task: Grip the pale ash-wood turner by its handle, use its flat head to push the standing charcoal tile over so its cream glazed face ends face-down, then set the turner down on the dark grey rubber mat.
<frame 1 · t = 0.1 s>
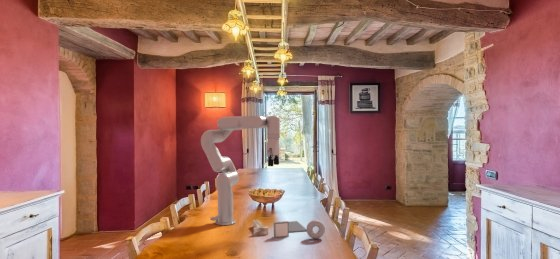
hand: (273, 165, 200), 37 cm above the table, tool pointing down, fingers open, 9 cm apart
mat: (292, 227, 201), on the table
tile: (281, 236, 183), on the table
donut: (315, 239, 179), on the table
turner: (257, 229, 196), on the table
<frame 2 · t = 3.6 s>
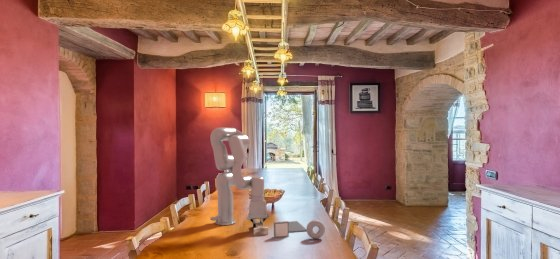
hand: (257, 229, 196), 0 cm above the table, tool pointing down, fingers closed on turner, 2 cm apart
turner: (257, 229, 196), on the table, touching gripper
everything else where it was.
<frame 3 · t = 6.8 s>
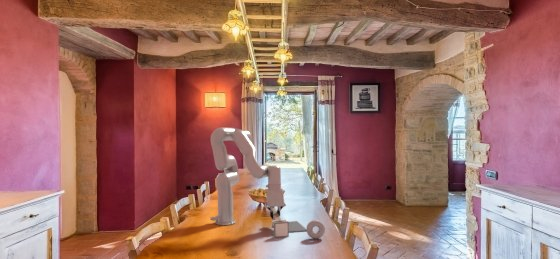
hand: (275, 217, 198), 7 cm above the table, tool pointing down, fingers closed on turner, 3 cm apart
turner: (274, 219, 199), point 5 cm above the table, tilted 12°, touching gripper
everything else where it was.
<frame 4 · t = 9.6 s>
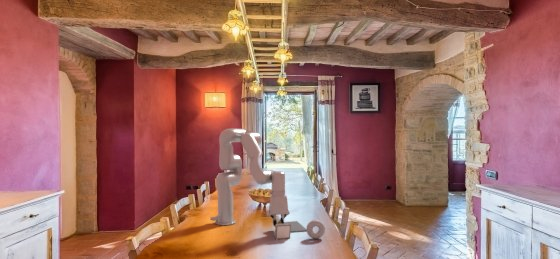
hand: (278, 225, 189), 4 cm above the table, tool pointing down, fingers closed on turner, 3 cm apart
tile: (282, 238, 180), on the table, tilted 12°, touching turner
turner: (277, 227, 190), point 3 cm above the table, tilted 12°, touching gripper, tile
everything else where it was.
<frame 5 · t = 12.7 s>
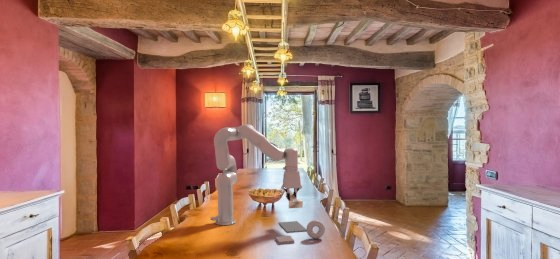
hand: (291, 199, 202), 16 cm above the table, tool pointing down, fingers closed on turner, 3 cm apart
tile: (282, 237, 179), on the table, tilted 90°
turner: (291, 200, 204), point 15 cm above the table, tilted 12°, touching gripper
everything else where it was.
when the fingers open (2 cm above the table, at t = 15.5 s): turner stays where it is, resting on mat.
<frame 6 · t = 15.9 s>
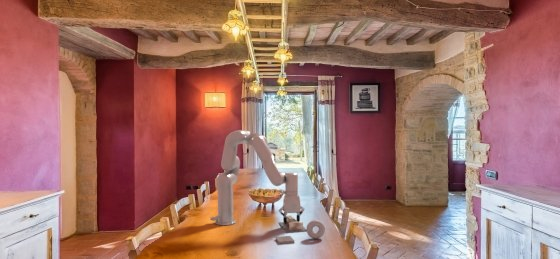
hand: (291, 222, 202), 2 cm above the table, tool pointing down, fingers open, 7 cm apart
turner: (291, 224, 203), point 1 cm above the table, touching mat
everything else where it was.
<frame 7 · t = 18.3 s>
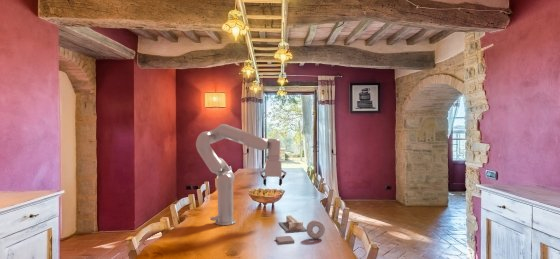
hand: (272, 185, 211), 23 cm above the table, tool pointing down, fingers open, 9 cm apart
nothing on the table moved.
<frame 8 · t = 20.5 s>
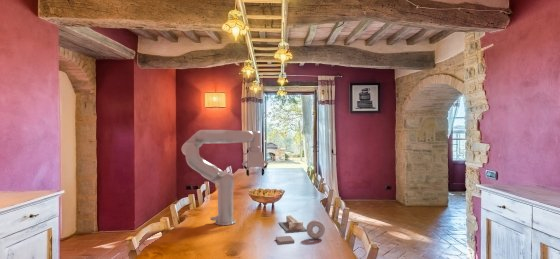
hand: (255, 175, 221), 28 cm above the table, tool pointing down, fingers open, 9 cm apart
nothing on the table moved.
at the end: tile tilted 90°; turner inside the target area on the mat (1.5 cm from its centre), point 0.6 cm above the mat's base; the gripper is holding nothing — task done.
